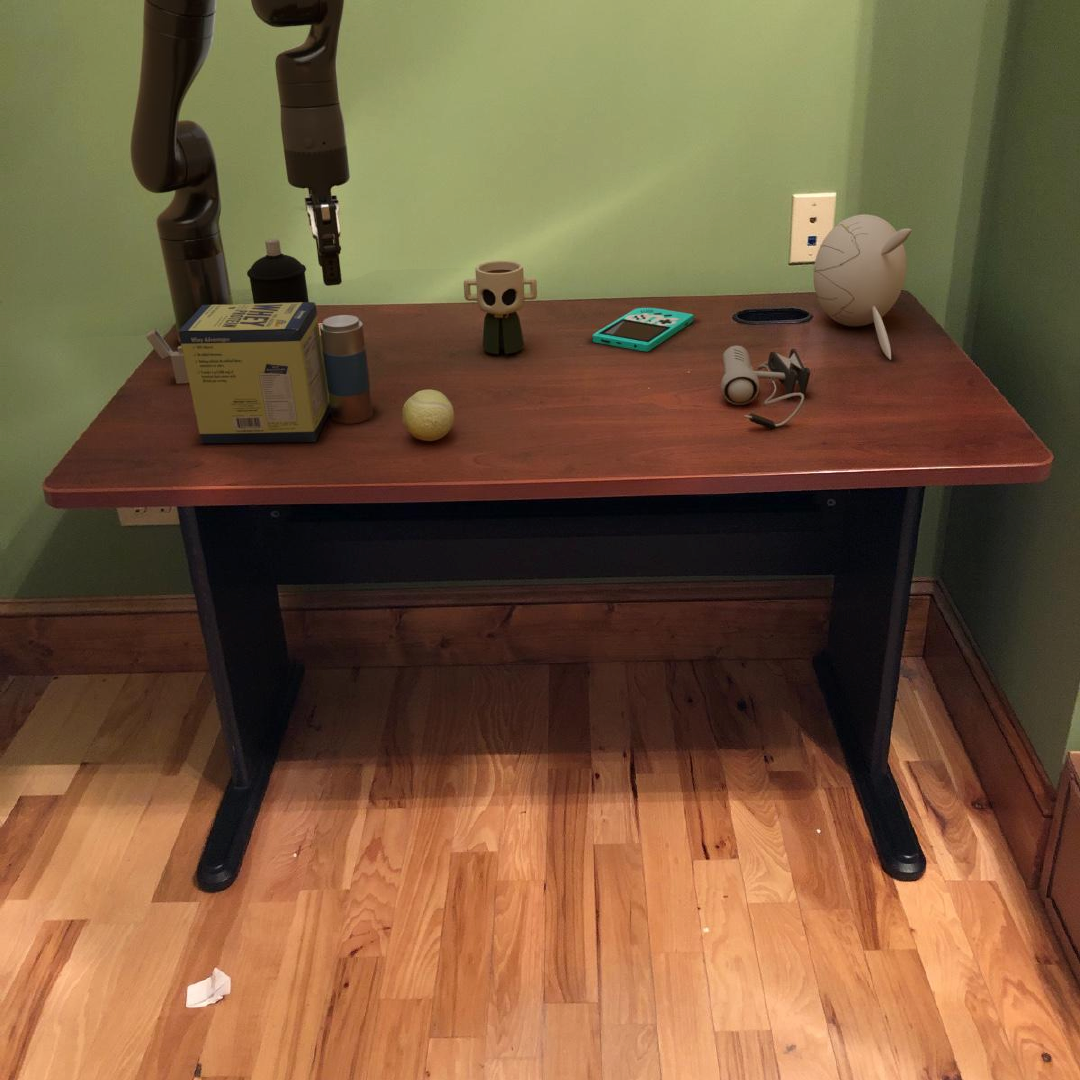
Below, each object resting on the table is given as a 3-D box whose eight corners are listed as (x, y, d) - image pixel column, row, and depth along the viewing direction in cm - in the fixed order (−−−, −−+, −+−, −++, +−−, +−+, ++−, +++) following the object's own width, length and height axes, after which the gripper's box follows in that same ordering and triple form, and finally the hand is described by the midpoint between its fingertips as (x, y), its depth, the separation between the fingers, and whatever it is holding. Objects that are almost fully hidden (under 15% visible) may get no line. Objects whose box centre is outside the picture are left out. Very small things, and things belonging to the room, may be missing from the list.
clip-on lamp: (813, 449, 148) (796, 370, 161) (824, 410, 143) (806, 332, 157) (723, 443, 148) (713, 365, 161) (731, 403, 143) (720, 326, 157)
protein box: (220, 413, 157) (200, 303, 150) (332, 410, 157) (317, 300, 149) (198, 445, 148) (175, 330, 141) (317, 443, 148) (300, 327, 140)
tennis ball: (460, 445, 146) (457, 396, 142) (409, 453, 144) (404, 404, 141) (450, 426, 151) (446, 378, 148) (400, 433, 149) (395, 385, 146)
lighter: (206, 377, 169) (196, 325, 165) (204, 382, 168) (194, 329, 164) (158, 380, 169) (147, 328, 165) (155, 384, 168) (144, 332, 164)
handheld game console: (695, 321, 184) (695, 313, 183) (648, 352, 172) (649, 344, 171) (640, 312, 189) (640, 304, 188) (591, 342, 177) (591, 333, 176)
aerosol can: (307, 387, 165) (288, 249, 155) (254, 384, 166) (232, 247, 156) (328, 366, 172) (310, 233, 162) (277, 364, 173) (256, 232, 163)
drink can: (329, 410, 157) (317, 316, 150) (370, 405, 158) (359, 311, 151) (333, 426, 152) (320, 329, 146) (375, 421, 153) (364, 325, 147)
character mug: (465, 359, 172) (459, 274, 166) (470, 343, 178) (464, 260, 172) (537, 358, 172) (534, 273, 165) (540, 341, 178) (537, 259, 171)
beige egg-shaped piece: (804, 207, 181) (858, 225, 158) (889, 209, 182) (954, 227, 159) (791, 326, 188) (840, 360, 165) (872, 328, 189) (932, 361, 166)
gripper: (351, 152, 132) (365, 288, 140) (340, 130, 144) (354, 257, 153) (286, 156, 131) (303, 294, 139) (280, 134, 143) (297, 262, 151)
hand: (330, 274), depth 146 cm, fingers open, 8 cm apart
